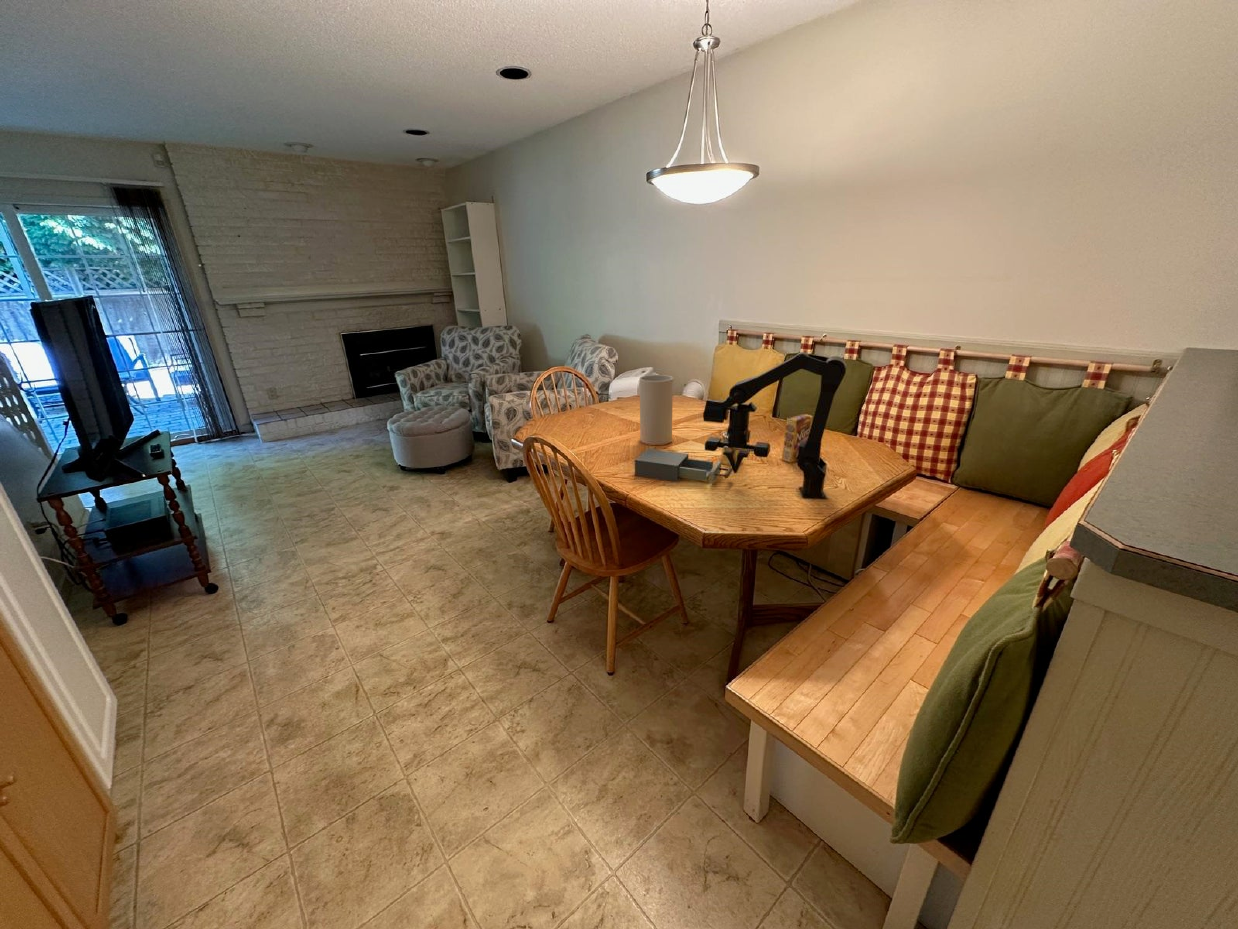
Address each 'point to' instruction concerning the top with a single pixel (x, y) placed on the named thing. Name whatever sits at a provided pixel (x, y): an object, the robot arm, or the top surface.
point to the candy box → (795, 435)
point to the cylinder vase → (656, 409)
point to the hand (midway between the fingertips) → (735, 472)
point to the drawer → (702, 470)
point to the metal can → (723, 457)
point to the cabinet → (659, 464)
